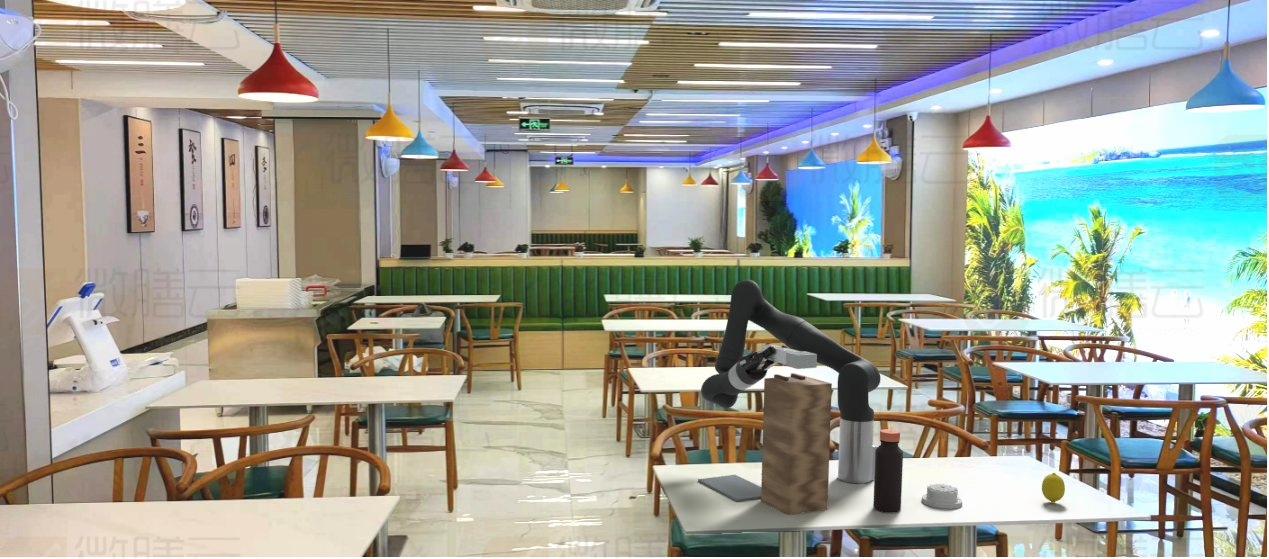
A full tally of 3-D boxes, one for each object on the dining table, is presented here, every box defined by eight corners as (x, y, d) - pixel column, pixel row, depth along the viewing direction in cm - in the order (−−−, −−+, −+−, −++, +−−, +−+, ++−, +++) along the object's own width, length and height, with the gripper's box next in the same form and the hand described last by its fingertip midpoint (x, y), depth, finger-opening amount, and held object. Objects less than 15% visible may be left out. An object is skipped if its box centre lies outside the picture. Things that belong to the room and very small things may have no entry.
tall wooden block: (799, 495, 252) (803, 372, 250) (827, 509, 242) (831, 380, 239) (760, 501, 247) (764, 375, 245) (788, 514, 236) (792, 383, 234)
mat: (735, 476, 270) (735, 474, 269) (775, 496, 252) (775, 494, 252) (698, 481, 264) (698, 479, 264) (737, 501, 246) (737, 499, 246)
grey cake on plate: (966, 510, 243) (957, 499, 253) (966, 493, 243) (957, 482, 253) (925, 508, 244) (918, 497, 254) (926, 491, 244) (919, 480, 254)
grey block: (775, 356, 256) (775, 344, 256) (816, 367, 240) (816, 354, 239) (757, 358, 253) (757, 345, 253) (797, 369, 237) (797, 355, 237)
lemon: (1064, 501, 252) (1065, 471, 251) (1063, 507, 247) (1065, 477, 246) (1041, 498, 254) (1042, 469, 253) (1040, 504, 249) (1042, 474, 248)
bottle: (886, 514, 238) (889, 435, 236) (867, 507, 244) (870, 429, 242) (906, 511, 241) (909, 432, 240) (887, 503, 247) (890, 427, 246)
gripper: (721, 360, 261) (753, 336, 247) (765, 358, 267) (798, 334, 253) (728, 386, 258) (760, 363, 244) (772, 383, 265) (805, 360, 251)
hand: (779, 349), depth 249 cm, fingers closed on grey block, 3 cm apart
